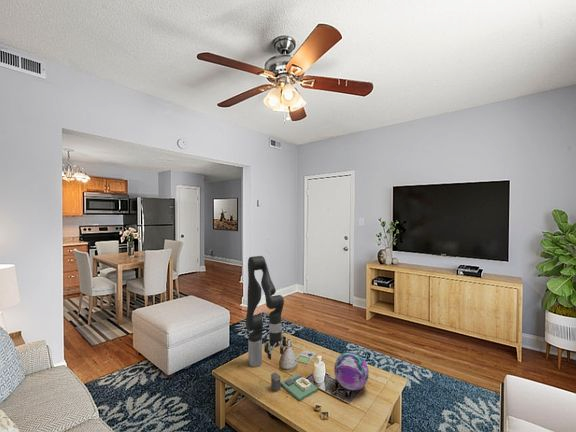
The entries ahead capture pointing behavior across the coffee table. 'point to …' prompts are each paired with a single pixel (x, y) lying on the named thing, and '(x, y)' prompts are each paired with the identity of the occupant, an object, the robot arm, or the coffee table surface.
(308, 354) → the handheld gaming console
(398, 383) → the coffee table surface
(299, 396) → the header board
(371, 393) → the coffee table surface
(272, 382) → the plug
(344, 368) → the decorative sphere
